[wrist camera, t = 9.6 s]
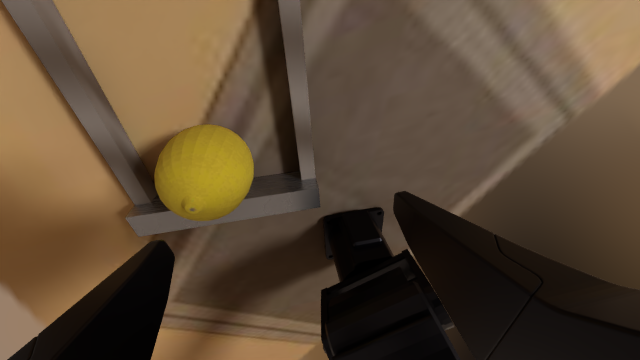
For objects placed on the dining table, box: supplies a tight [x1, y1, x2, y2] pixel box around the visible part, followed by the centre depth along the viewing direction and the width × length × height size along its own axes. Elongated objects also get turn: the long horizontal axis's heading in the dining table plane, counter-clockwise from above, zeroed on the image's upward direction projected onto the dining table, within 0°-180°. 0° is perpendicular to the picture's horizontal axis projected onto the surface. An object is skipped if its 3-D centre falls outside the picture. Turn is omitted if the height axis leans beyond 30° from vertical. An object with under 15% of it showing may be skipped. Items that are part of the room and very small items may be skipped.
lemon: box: [154, 124, 254, 221], centre depth 15 cm, size 6×6×8 cm
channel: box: [1, 0, 320, 237], centre depth 14 cm, size 23×14×3 cm, turn 4°
